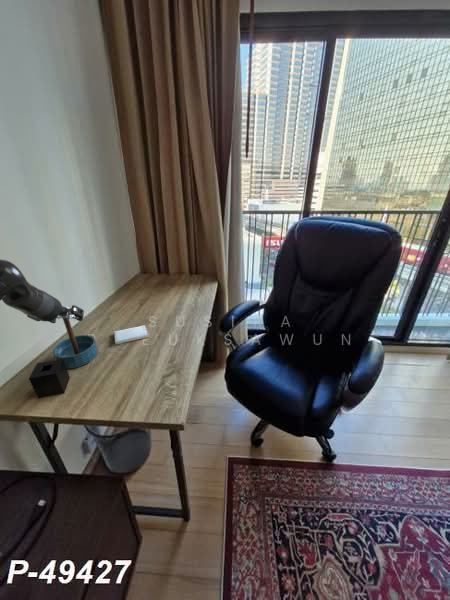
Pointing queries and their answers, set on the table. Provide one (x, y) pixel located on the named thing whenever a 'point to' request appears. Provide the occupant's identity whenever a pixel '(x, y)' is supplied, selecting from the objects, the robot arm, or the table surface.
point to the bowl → (67, 353)
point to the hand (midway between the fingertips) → (67, 319)
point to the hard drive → (130, 334)
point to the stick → (71, 335)
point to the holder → (49, 378)
